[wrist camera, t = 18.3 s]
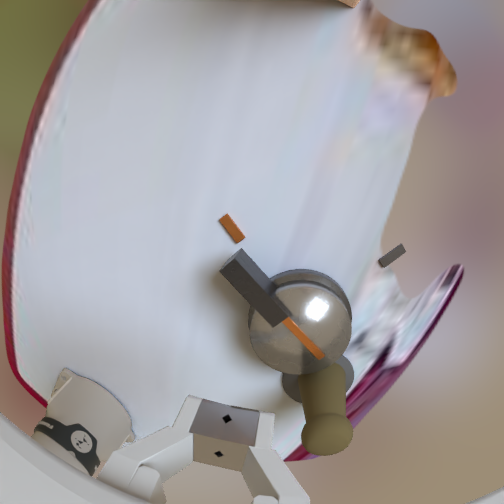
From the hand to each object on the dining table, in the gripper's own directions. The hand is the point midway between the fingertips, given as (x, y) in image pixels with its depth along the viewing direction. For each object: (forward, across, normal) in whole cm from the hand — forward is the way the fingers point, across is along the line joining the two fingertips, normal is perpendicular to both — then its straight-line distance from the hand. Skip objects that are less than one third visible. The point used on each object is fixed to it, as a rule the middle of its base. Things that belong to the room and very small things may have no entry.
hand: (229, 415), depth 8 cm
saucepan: (+19, -2, +5) cm, 20 cm away
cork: (+21, -9, +14) cm, 27 cm away
